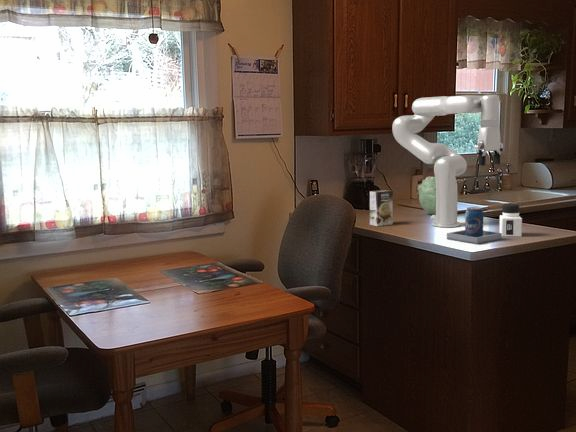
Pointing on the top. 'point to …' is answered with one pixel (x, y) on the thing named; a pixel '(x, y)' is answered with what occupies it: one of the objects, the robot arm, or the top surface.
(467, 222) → the soda can
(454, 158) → the robot arm
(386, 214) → the coffee box
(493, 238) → the tray
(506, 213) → the container
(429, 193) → the cabbage
